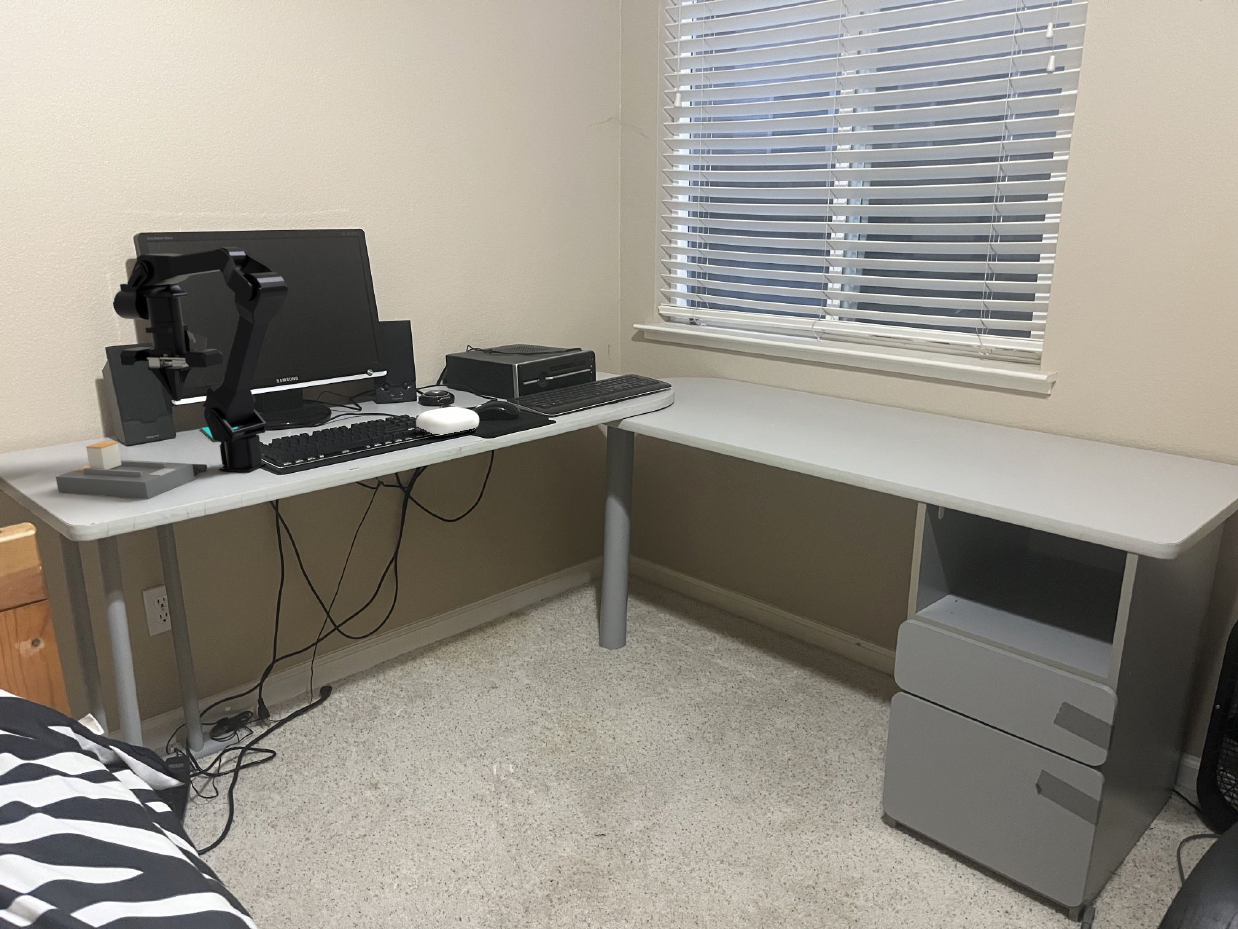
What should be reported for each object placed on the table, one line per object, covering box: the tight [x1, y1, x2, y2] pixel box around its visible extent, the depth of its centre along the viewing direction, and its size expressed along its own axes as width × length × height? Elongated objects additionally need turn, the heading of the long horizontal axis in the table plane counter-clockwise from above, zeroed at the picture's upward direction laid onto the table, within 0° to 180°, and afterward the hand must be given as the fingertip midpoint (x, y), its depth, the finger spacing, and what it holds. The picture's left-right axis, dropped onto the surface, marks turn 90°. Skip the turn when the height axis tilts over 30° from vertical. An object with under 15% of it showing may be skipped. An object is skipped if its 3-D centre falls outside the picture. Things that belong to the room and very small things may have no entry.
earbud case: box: [415, 406, 480, 434], centre depth 196 cm, size 10×13×5 cm
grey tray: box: [55, 459, 195, 500], centre depth 156 cm, size 18×12×4 cm, turn 78°
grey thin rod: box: [191, 463, 208, 473], centre depth 166 cm, size 14×1×1 cm, turn 82°
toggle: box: [85, 440, 122, 469], centre depth 156 cm, size 3×4×4 cm
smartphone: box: [200, 426, 238, 443], centre depth 196 cm, size 7×1×15 cm
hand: (177, 400), depth 171 cm, fingers closed
